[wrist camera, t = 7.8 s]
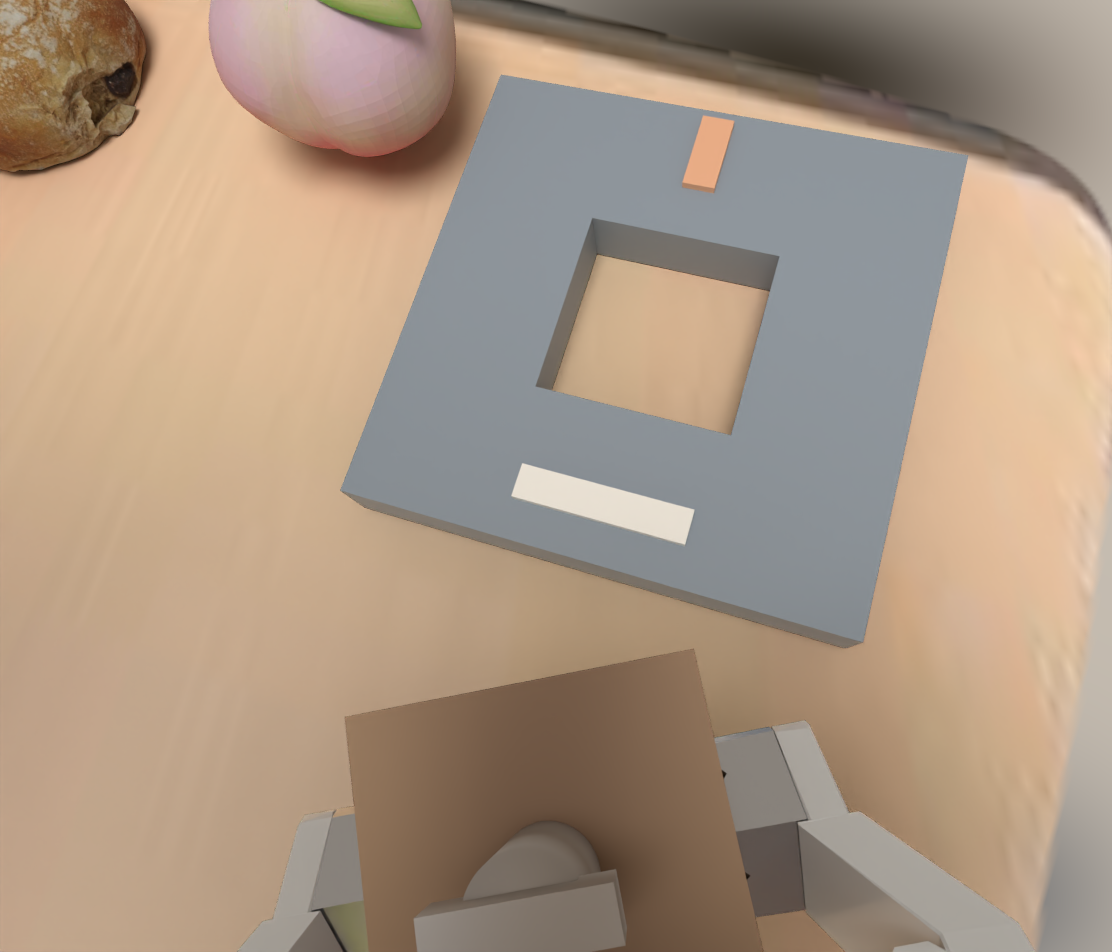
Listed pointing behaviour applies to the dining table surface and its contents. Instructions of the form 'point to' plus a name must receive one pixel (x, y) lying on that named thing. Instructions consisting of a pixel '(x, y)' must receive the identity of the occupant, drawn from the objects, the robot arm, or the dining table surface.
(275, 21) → the decorative fruit
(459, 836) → the wooden peg with knob
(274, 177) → the dining table surface
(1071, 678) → the dining table surface
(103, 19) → the bread roll
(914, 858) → the robot arm
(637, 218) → the socket plate
